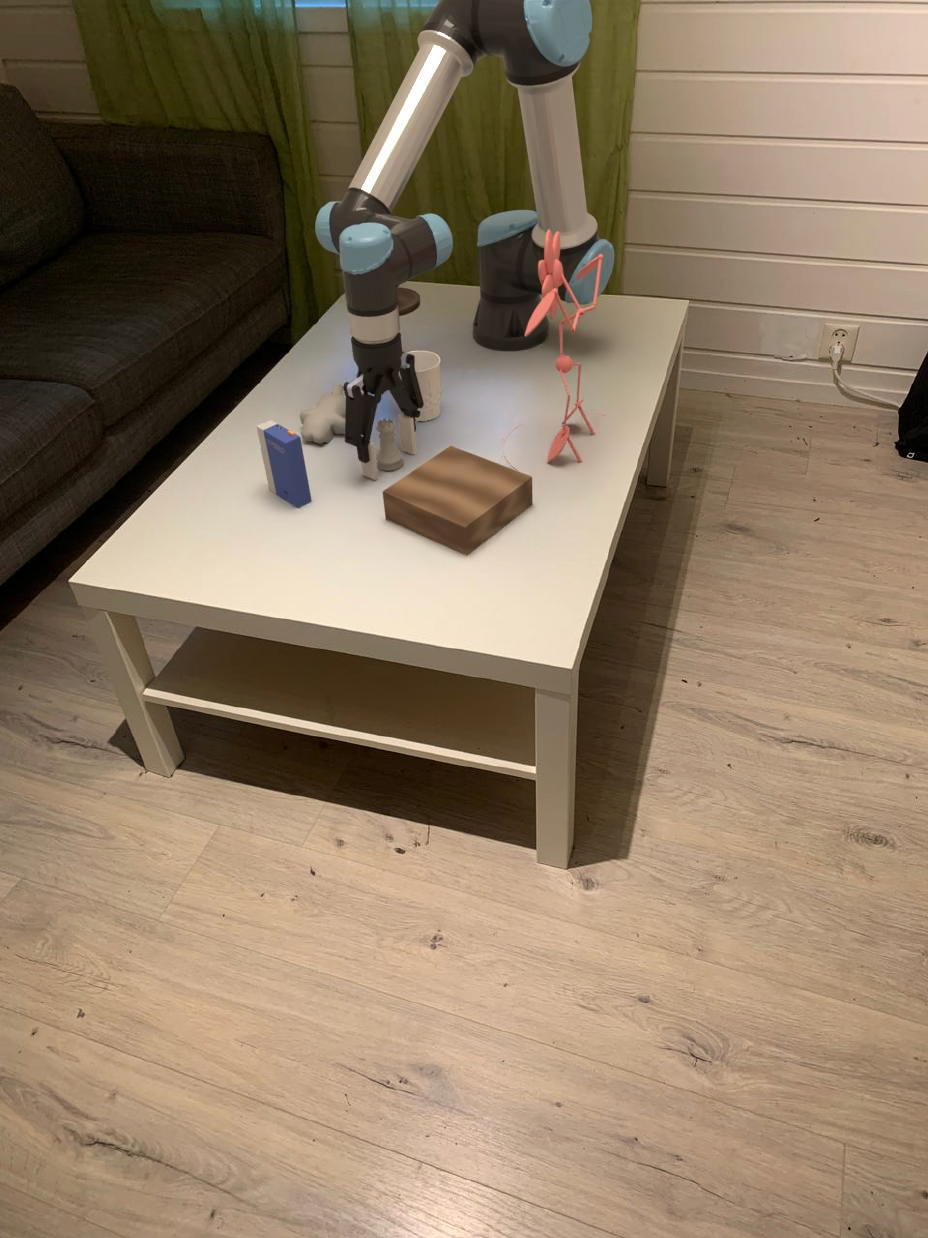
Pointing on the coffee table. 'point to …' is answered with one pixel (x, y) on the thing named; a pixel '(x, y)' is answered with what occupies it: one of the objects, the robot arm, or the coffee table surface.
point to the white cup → (428, 383)
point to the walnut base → (458, 499)
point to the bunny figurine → (325, 417)
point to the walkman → (284, 463)
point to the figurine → (561, 324)
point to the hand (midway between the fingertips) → (390, 463)
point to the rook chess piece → (388, 446)
